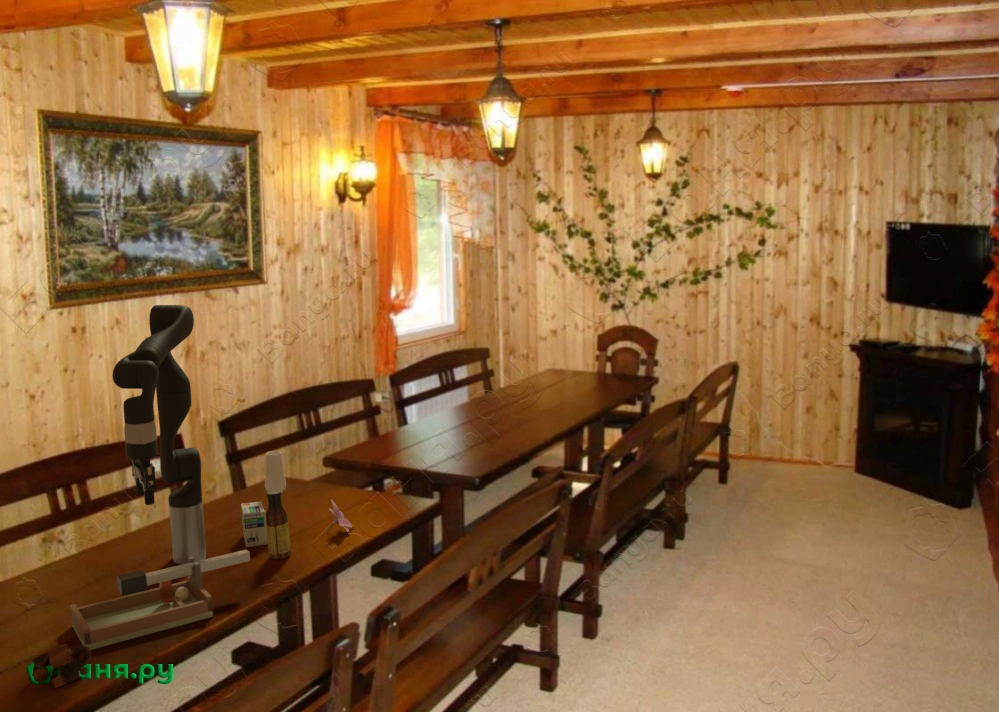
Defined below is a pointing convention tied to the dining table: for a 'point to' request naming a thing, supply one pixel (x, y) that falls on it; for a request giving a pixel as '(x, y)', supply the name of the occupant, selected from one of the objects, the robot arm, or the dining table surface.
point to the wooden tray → (140, 613)
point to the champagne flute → (274, 472)
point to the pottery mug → (63, 663)
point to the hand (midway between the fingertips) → (145, 499)
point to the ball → (182, 593)
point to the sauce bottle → (277, 527)
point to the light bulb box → (254, 524)
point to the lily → (339, 518)
